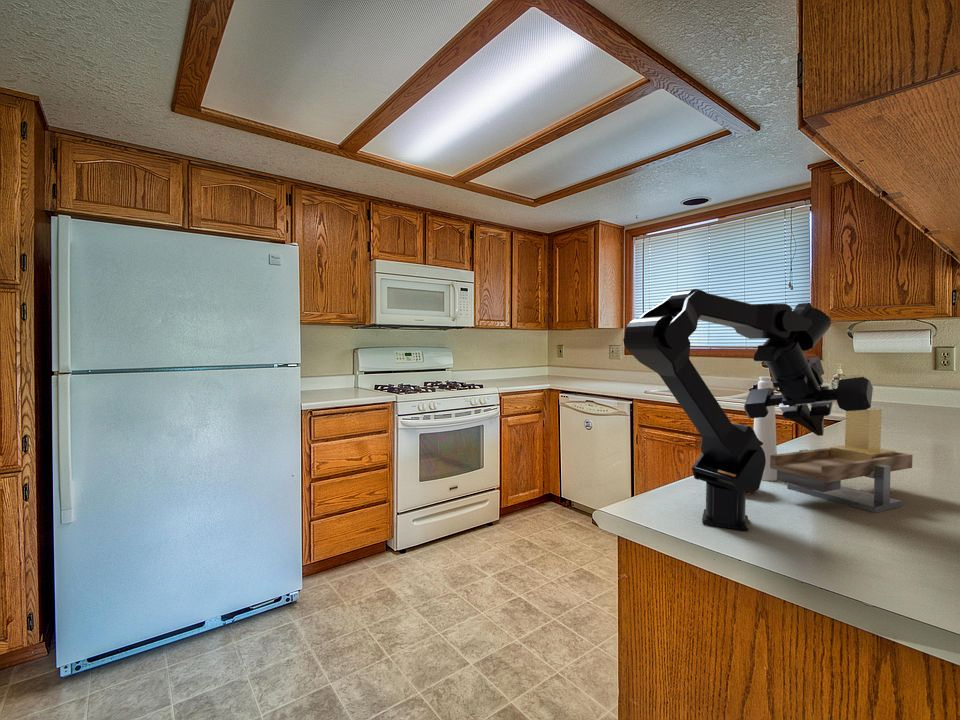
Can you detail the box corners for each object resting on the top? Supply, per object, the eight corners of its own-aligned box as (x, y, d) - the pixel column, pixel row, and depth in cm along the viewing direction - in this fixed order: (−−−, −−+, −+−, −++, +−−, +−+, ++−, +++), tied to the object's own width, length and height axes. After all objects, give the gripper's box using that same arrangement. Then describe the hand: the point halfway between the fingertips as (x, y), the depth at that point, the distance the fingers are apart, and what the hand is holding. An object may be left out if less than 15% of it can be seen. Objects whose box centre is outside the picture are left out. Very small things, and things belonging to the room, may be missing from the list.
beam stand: (875, 512, 80) (876, 469, 79) (787, 488, 93) (788, 451, 93) (901, 506, 83) (902, 464, 83) (812, 483, 97) (813, 447, 96)
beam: (829, 494, 78) (830, 468, 78) (767, 478, 88) (768, 454, 88) (914, 478, 88) (915, 455, 88) (850, 465, 98) (850, 444, 98)
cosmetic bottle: (786, 478, 100) (788, 377, 99) (768, 482, 97) (770, 378, 97) (759, 472, 106) (760, 375, 105) (741, 475, 103) (743, 376, 102)
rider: (871, 465, 86) (872, 411, 86) (830, 457, 93) (831, 407, 92) (895, 461, 89) (896, 409, 89) (853, 453, 96) (855, 405, 96)
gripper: (859, 329, 79) (888, 400, 83) (743, 350, 93) (773, 410, 97) (852, 368, 72) (885, 443, 76) (729, 384, 87) (762, 447, 91)
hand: (820, 434), depth 85 cm, fingers closed
